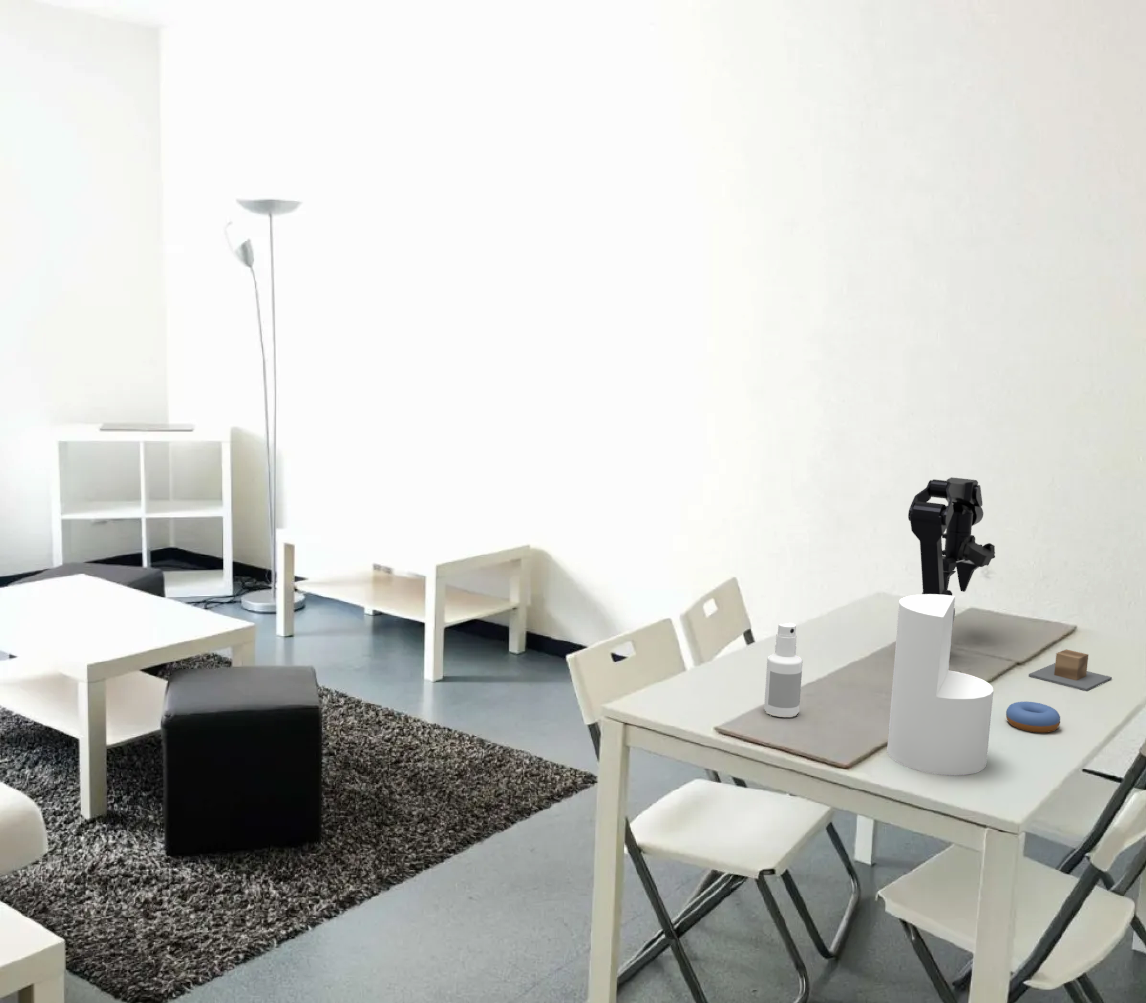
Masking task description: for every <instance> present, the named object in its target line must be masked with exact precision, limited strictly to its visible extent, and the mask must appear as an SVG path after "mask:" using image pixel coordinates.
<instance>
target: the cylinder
mask: <svg viewBox="0 0 1146 1003" xmlns="http://www.w3.org/2000/svg"><path fill="white" fill-rule="evenodd" d="M898 601H899V602H898V610H897V611H898V613H897V624H896V638H895V649H894V650H895V651H894V663H893V674H892V675H893V676H892V685H891V686H892V688H891V700H890V711H889V726H888V736H887V749H886V754H887V755H888V757H889V758H890V759H892V760H893V761H895V763H898V764H900V765H902V766H903V767H906V768H909V769H912V770H915V771H919V772H923V773H929V774H933V775H939V776H941V775H942V776H966V775H972V774H977V773H979V772H981V771H983V770H985V768H986V766H987V762H988V751H989V741H990V731H991V730H990V728H991V719H992V718H991V717H992V708H993V698H994V687H993V685H991V684H990V683H989V682H988V681H986V680H984V679H982V678H980V677H977V676H974V675H971V674H968V673H964V672H961V671H954V670H950V669H949V668H950V658H951V649H952V648H951V645H952V634H953V627H952V625H953V626H954V621H953V614H954V608H955V602H956V595H952V596H951V595H939V594H922V593H921V594H911V595H907V596H904V597H902V598H900V599H899V600H898Z"/></svg>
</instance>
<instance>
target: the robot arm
mask: <svg viewBox="0 0 1146 1003" xmlns="http://www.w3.org/2000/svg"><path fill="white" fill-rule="evenodd" d="M932 498H938V499H944V500H946V501H947V505H946V504H943V503H938V502H937V503H935V502H929V501H930V500H931V499H932ZM982 507H983V497H982V489H981V485H979V482H978V480H976V479H969V478H958V477H953V476H952V477H949V478H948V479H946V480H941V479H930V480H929V481H928V482H927V485H926V487H925V488H923V489H921V491H919V493H917V494H915V496H914V497H913V499H912V501H911V503H910V507H909V508H908V515H907V517H908V521H909V523H910V529H911V532H912V533H913V535H914V536H915V537H916V538H917V539H918V541H919V549H920V550H919V551H920V564H921V582H922V584H921V585H922V593H921V594H939V595H951V596H953V592H952V590H949V584H950V583H949V582H950V579H951V576H953V575H954V574H955V573H956V574H957V578H958V579H957V580H958V584H959V585H958V586H959V589H960V592H966V591H967V589H968V586H969V584H970V582H971V579H972V576H973V574H974V573H975V571H976V570H977V569H979V568H983V567H985V566H988V567H989V566H990V563H991V561H992V559H995V558H996V555H995V554H996V552H995V551H996V550H995V545H994V544H992V543H990V542H987V543H985V544H984V545H983V544H978V543H977V542H976V536H975V535H972V531H973V530H972V528H973V526H975V525H977V524H978V523H980V522H981V521H982V519H983V517H984V510H983V508H982ZM942 539H945V542H944V549H943V543H942V542H943V541H942ZM955 612H956V608H955V607H954V614H953V622H954V620H955V615H956V613H955ZM953 626H954V624H953V625H952V628H953Z"/></svg>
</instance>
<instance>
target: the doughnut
mask: <svg viewBox="0 0 1146 1003" xmlns="http://www.w3.org/2000/svg"><path fill="white" fill-rule="evenodd" d="M1005 717H1006V719H1007V722H1008V723H1009V724H1010V725H1011V726H1012V727H1014V728H1016V729H1019V730H1021V731H1025V732H1028V733H1029V732H1031V733H1035V732H1037V734H1046V733H1053V732H1054V731H1056V730H1058V728H1059V726H1060V724H1061V716H1060V714H1059V712H1058V711H1057V709H1055V708H1054V707H1051V706H1050V705H1047V704H1044V703H1041V702H1035V701H1017V702H1013V703H1011V704H1010V705H1009V706H1008V707H1007V708H1006V711H1005Z"/></svg>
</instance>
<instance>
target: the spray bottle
mask: <svg viewBox="0 0 1146 1003" xmlns="http://www.w3.org/2000/svg"><path fill="white" fill-rule="evenodd" d="M796 630H797V624H795V623H793V622H786V623H778V625H777V634H776V638H775V646H774V652H773V653H771V654H770V655H768V657H767V661H766V674H765V675H766V676H765V692H764V706H763V710H764V709H765V710H764V712H765V711H767V712H769V713H772V714H778V715H793V714H797V713H798V712H799V713H800V708H801V692H802V689H801V688H802V675H803V674H802V673H803V662H804V661H803V659H802V658H801V657H800V656H799V655H797V633H796Z"/></svg>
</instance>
